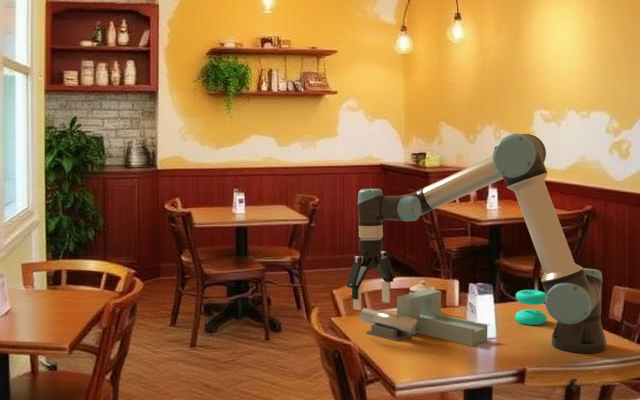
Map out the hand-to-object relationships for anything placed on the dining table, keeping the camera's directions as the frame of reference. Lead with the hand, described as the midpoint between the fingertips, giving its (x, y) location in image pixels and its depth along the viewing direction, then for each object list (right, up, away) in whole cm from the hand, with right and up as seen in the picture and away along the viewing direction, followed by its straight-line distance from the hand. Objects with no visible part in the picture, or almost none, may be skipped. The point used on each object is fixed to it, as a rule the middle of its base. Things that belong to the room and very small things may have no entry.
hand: (371, 305), depth 239 cm
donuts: (+53, -7, +11) cm, 55 cm away
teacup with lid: (+19, -6, +23) cm, 30 cm away
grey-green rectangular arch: (+15, -8, +2) cm, 17 cm away
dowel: (+5, -6, -5) cm, 9 cm away
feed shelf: (+24, -9, -6) cm, 26 cm away
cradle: (+5, -8, -4) cm, 11 cm away
